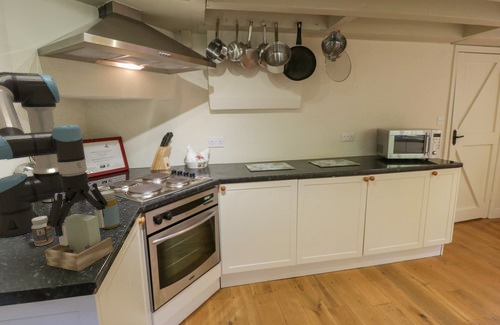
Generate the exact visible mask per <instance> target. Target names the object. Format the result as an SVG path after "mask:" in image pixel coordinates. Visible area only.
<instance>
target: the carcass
mask: <svg viewBox="0 0 500 325" xmlns="http://www.w3.org/2000/svg"><path fill="white" fill-rule="evenodd" d="M112 238H113V237H110V236H109V237H107V238H105V239H103V240H101V242H99V243H97V244H96V245H94V246H92V247H90V248H88V249H86V250H84V251H83V252H81V253H75V252H73V250H72V249H69V245H67V246H65V245H60V242H59V243H57V244H55V245H52V246H51V247H49V248H46V249H45V250H43V251H44V255H45V256H44V257H45V261H46V265H47V266H51V267H55V268H60V269H64V270H68V271H69V270H70V271H75V272H81V271H83V270H85V269H86V268H88V267H90V266H91V265H93V264H94V263H96V262H99V261H100V260H101V259H102V258H104V257H105V256H108V255H109V254H111V253H113V252H114V247H113V240H112ZM68 244H69V243H68Z"/></svg>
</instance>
